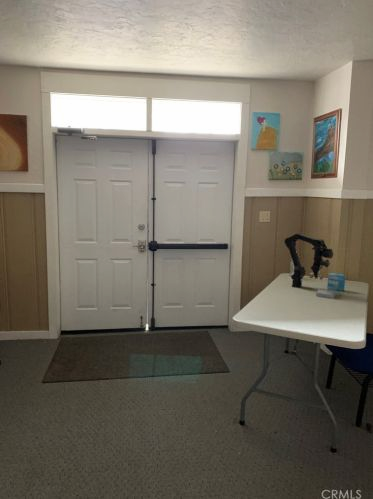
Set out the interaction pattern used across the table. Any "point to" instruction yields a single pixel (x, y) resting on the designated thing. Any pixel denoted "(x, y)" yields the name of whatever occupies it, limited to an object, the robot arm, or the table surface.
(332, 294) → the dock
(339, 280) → the data package
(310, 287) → the table surface
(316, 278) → the brown cardboard box
